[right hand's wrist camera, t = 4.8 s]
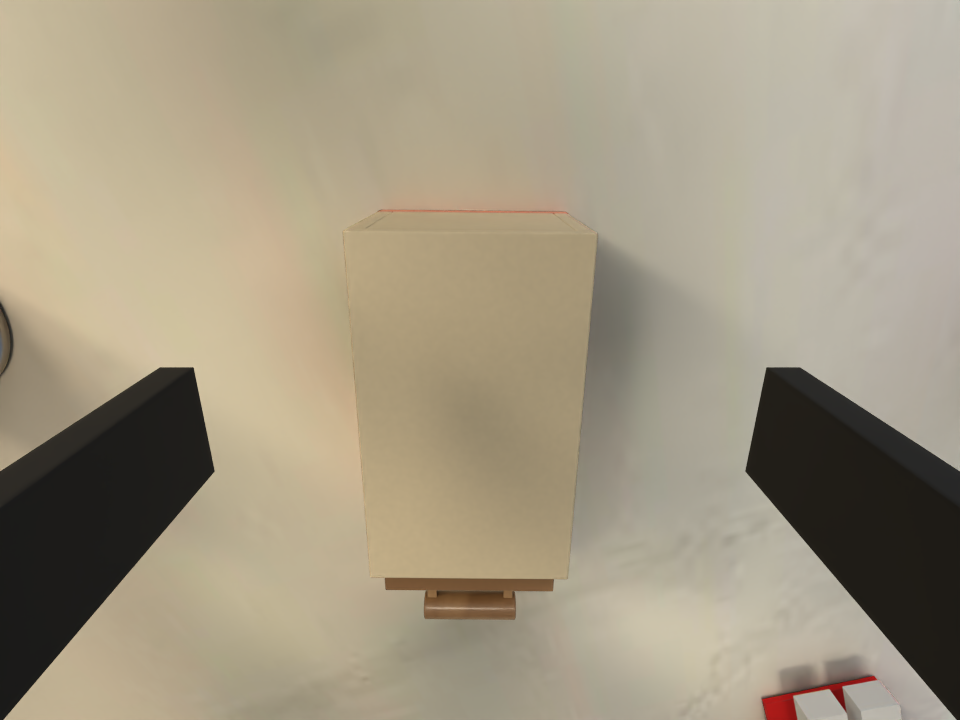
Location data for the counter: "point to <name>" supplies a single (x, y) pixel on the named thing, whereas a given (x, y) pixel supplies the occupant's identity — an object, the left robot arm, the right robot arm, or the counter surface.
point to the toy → (836, 703)
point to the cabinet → (469, 388)
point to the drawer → (469, 595)
